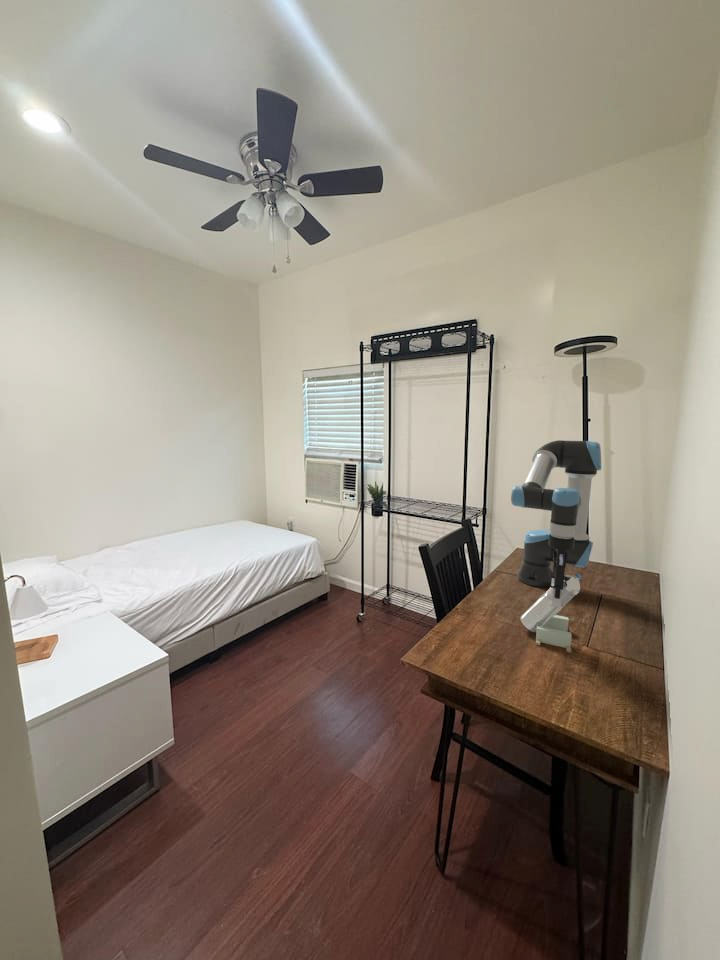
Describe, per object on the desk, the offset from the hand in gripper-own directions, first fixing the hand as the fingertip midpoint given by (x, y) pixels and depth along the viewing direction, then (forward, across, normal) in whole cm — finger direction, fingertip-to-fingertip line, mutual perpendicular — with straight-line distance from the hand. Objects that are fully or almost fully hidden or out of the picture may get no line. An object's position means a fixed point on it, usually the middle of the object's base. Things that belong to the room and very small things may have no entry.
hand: (555, 601), depth 128 cm
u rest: (+12, 0, 0) cm, 12 cm away
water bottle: (+10, 0, +8) cm, 13 cm away
